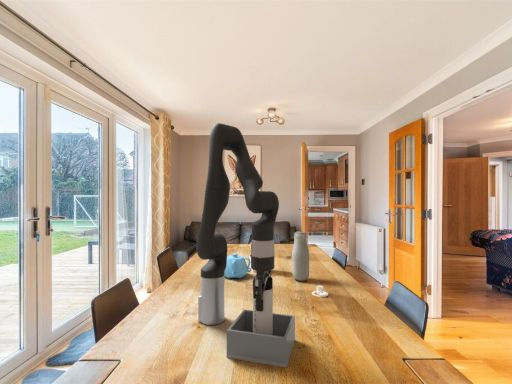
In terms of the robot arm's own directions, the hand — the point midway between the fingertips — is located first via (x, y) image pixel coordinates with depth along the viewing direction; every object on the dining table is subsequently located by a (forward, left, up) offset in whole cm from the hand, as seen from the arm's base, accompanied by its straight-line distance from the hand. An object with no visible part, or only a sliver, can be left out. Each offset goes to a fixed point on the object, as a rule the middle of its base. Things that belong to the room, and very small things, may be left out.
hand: (262, 306), depth 89 cm
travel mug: (0, 0, -11) cm, 11 cm away
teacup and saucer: (+13, +53, -14) cm, 57 cm away
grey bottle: (+2, +76, -13) cm, 77 cm away
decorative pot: (-37, +73, -13) cm, 83 cm away
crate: (0, 0, -13) cm, 13 cm away
